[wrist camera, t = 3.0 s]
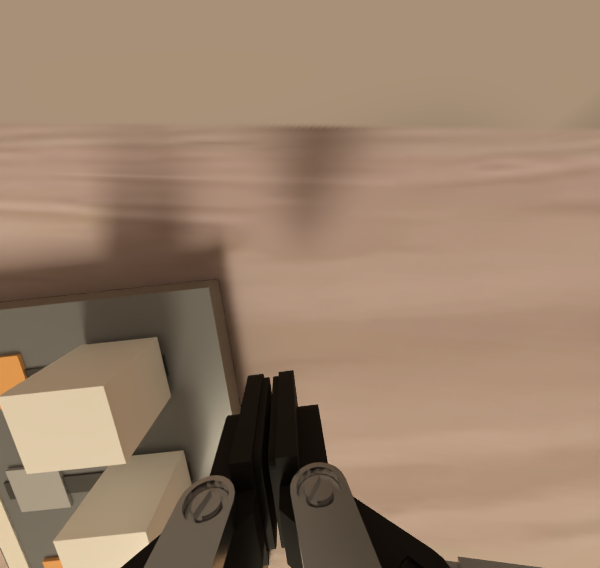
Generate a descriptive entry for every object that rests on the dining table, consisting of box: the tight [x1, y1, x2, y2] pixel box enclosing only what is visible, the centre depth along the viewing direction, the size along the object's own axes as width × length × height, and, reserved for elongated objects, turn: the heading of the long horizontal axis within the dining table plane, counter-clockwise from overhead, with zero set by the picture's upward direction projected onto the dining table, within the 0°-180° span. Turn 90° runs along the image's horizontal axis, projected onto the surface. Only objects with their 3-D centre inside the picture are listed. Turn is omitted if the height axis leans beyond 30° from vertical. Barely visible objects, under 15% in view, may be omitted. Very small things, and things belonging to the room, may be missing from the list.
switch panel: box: [0, 279, 268, 568], centre depth 19 cm, size 16×22×2 cm
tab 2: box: [53, 450, 192, 568], centre depth 15 cm, size 4×4×4 cm
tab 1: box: [0, 337, 171, 474], centre depth 14 cm, size 4×4×4 cm
